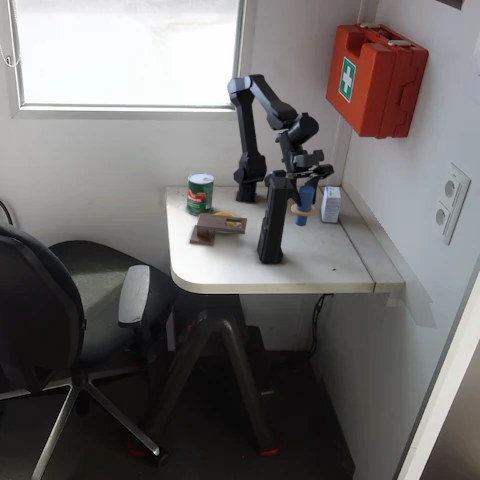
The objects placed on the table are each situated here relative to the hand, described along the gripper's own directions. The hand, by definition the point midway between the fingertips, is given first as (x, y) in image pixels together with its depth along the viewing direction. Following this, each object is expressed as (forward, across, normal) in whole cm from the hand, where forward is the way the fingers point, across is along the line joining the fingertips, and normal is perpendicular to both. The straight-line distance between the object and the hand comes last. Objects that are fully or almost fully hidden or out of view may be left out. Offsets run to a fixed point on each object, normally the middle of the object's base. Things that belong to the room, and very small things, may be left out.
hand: (306, 205), depth 145 cm
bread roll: (-3, -17, +20) cm, 26 cm away
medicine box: (0, +18, +19) cm, 26 cm away
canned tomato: (-10, -19, +30) cm, 37 cm away
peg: (+4, 0, +6) cm, 7 cm away
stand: (+2, -20, +18) cm, 27 cm away
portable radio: (+11, -10, +8) cm, 17 cm away
